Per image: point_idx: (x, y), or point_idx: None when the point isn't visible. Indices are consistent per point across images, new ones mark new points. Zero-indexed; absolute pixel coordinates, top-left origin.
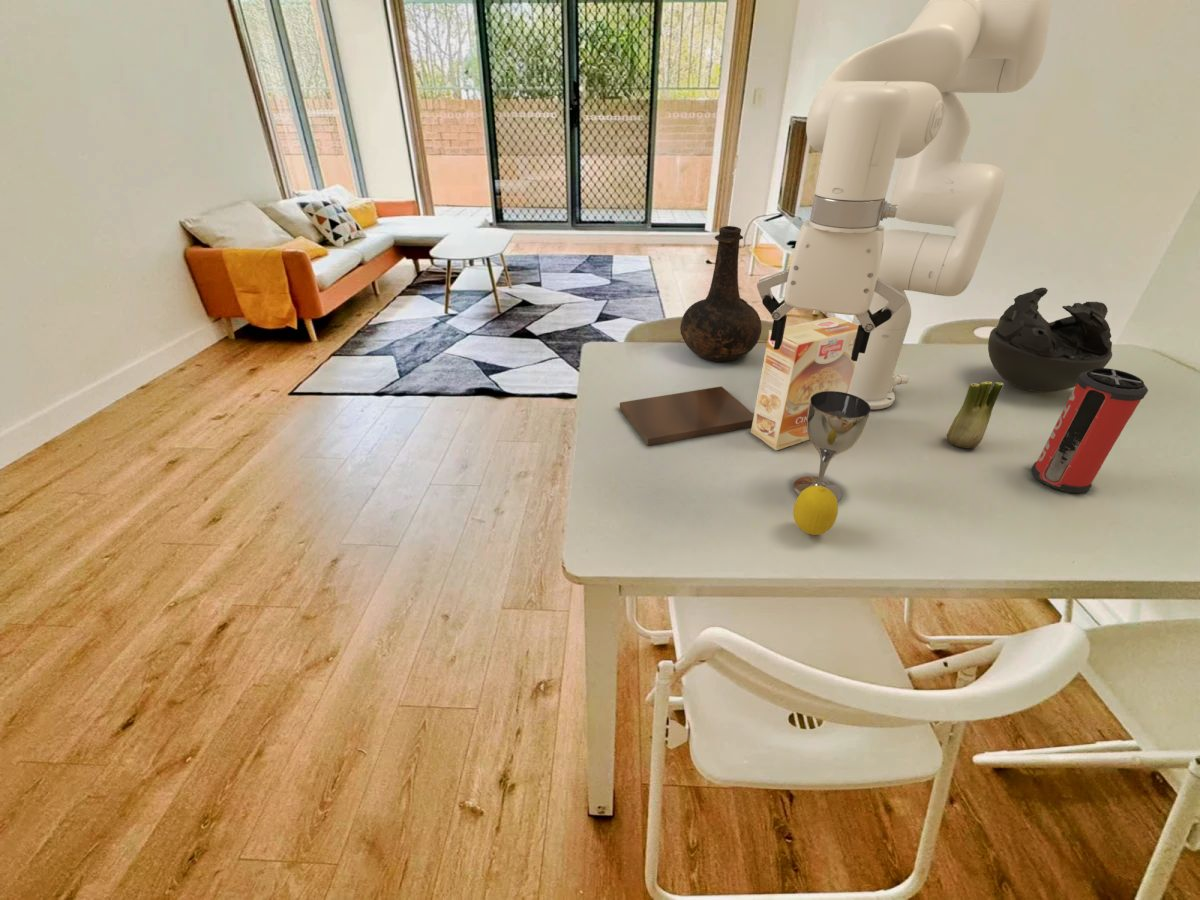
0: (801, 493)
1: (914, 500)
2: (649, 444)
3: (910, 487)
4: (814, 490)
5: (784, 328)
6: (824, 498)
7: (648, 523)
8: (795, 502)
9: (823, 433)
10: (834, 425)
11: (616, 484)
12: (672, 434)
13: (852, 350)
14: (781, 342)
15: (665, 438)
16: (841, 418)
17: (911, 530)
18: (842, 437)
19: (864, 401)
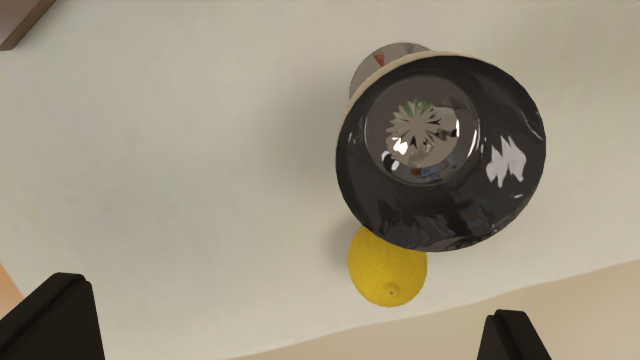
0: (355, 275)
1: (612, 61)
2: (11, 47)
3: (620, 6)
4: (377, 292)
5: (31, 354)
6: (397, 303)
7: (131, 284)
8: (348, 262)
9: (389, 210)
10: (415, 236)
11: (32, 206)
12: (35, 6)
13: (487, 345)
14: (89, 329)
15: (30, 19)
16: (434, 249)
17: (573, 169)
18: (441, 214)
19: (534, 104)
